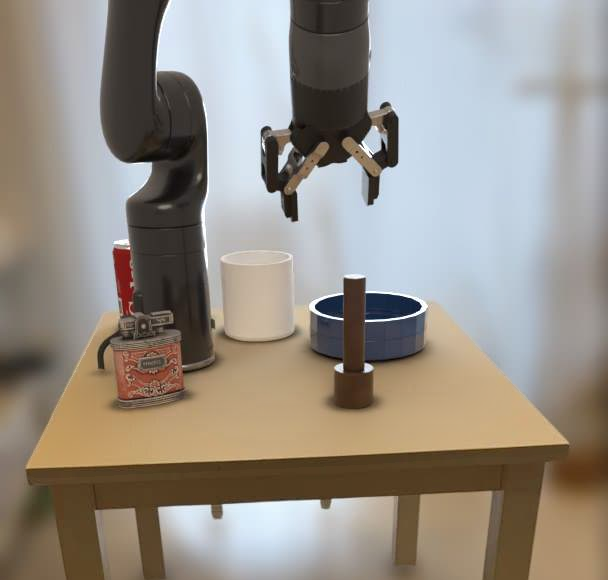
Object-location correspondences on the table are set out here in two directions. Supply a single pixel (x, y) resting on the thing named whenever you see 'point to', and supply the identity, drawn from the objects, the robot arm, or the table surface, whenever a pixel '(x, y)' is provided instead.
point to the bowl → (371, 325)
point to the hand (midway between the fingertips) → (330, 209)
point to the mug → (258, 295)
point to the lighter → (148, 361)
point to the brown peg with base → (353, 349)
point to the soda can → (123, 276)
